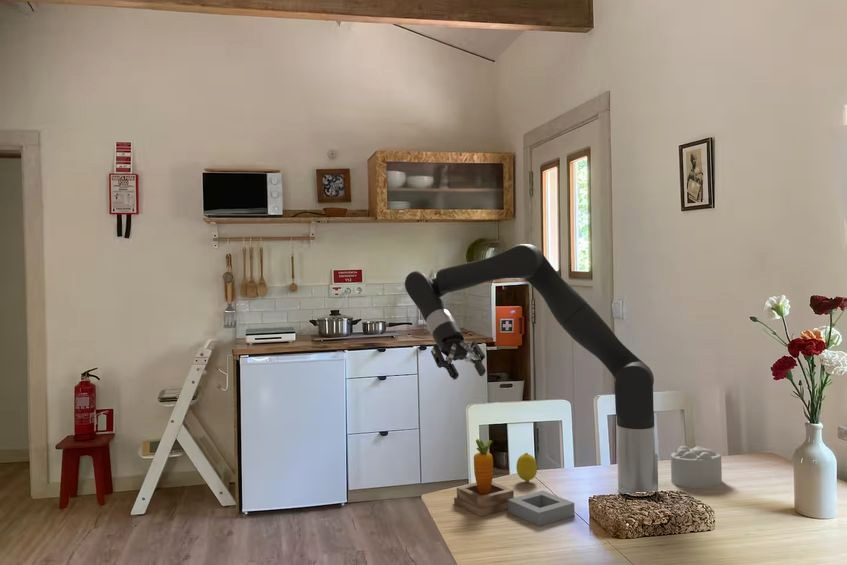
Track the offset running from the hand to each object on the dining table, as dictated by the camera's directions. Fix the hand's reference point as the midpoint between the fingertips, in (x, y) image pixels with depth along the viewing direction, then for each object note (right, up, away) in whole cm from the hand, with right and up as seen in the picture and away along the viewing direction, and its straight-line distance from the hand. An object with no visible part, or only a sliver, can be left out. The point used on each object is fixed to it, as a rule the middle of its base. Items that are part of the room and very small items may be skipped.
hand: (470, 375), depth 175 cm
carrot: (+3, -29, -9) cm, 31 cm away
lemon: (+16, -30, +8) cm, 35 cm away
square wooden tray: (+3, -31, -9) cm, 32 cm away
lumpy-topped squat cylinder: (+60, -29, +5) cm, 67 cm away
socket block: (+16, -30, -16) cm, 38 cm away
